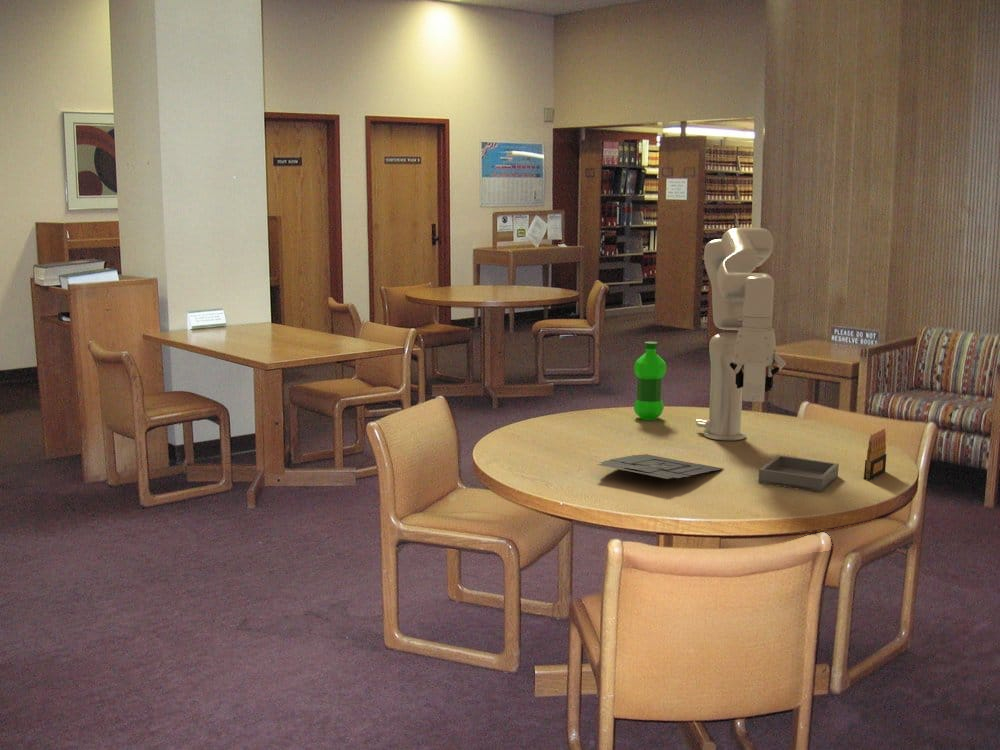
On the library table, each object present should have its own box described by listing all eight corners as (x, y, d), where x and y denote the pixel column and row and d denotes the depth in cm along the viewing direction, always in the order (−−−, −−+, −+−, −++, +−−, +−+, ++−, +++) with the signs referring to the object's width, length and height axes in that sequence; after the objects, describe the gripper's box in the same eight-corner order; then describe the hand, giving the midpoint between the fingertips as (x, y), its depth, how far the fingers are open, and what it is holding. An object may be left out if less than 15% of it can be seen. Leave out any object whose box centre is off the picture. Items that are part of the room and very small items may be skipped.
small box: (764, 402, 273) (766, 363, 271) (742, 401, 274) (744, 362, 272) (763, 396, 281) (765, 358, 279) (742, 395, 282) (744, 357, 280)
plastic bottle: (665, 415, 342) (668, 340, 338) (662, 422, 332) (665, 345, 328) (634, 414, 345) (637, 339, 340) (631, 420, 335) (633, 344, 330)
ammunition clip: (878, 470, 279) (881, 427, 277) (885, 472, 278) (888, 428, 276) (863, 479, 271) (866, 434, 269) (870, 480, 270) (874, 435, 268)
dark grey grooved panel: (588, 473, 269) (589, 460, 269) (644, 463, 293) (645, 450, 293) (673, 491, 255) (674, 476, 255) (724, 478, 279) (725, 465, 279)
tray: (758, 482, 267) (759, 469, 266) (777, 467, 281) (778, 455, 280) (821, 492, 259) (822, 479, 258) (837, 476, 273) (838, 463, 272)
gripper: (720, 322, 275) (717, 387, 278) (785, 327, 266) (781, 395, 269) (730, 319, 281) (727, 383, 285) (794, 324, 272) (790, 390, 276)
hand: (753, 388), depth 277 cm, fingers closed on small box, 7 cm apart
